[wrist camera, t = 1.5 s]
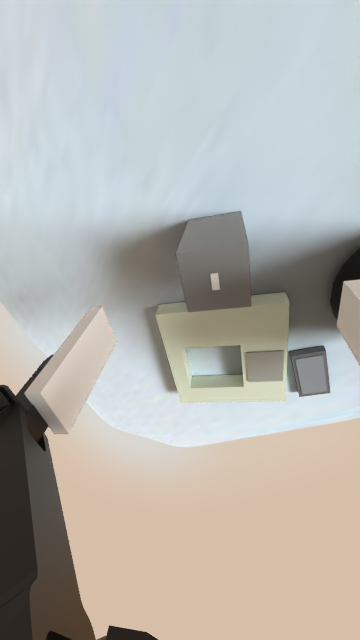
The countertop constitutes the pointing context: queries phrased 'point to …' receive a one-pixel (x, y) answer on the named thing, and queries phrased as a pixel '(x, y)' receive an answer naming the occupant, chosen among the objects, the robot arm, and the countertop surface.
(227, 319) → the outlet plate
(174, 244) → the countertop surface
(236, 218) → the block
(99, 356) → the robot arm
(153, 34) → the countertop surface
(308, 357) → the phone
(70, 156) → the countertop surface
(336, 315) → the coffee jar
